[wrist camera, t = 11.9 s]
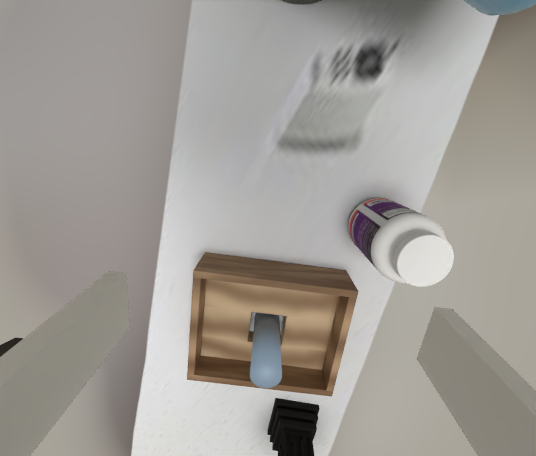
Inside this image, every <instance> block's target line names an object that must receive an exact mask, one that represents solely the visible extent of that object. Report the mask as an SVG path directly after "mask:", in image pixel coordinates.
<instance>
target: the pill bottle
mask: <svg viewBox="0 0 536 456" xmlns="http://www.w3.org/2000/svg"><path fill="white" fill-rule="evenodd" d="M348 230H349V235H350V237H351V239H352V241H353V242H354V244H355V245H356V246H357V247H358V248H359V249H360V250H361V252H362V253H363V254H364V255H365V256H366V257H367V258H368V260H369V261H370V262H371V263H372V264H373V265H374V266H375V268H376V269H377V270H378V271H379V272H380V273H381V274H382V275H383V276H385V277H387V278H388V279H390V280H393V281H396V282H400V283H408V284H411V285H414V286H419V287H424V286H430V285H433V284H435V283H437V282H439V281H440V280H442V279H443V278H444V277H445V276H446V275H447V274H448V273H449V271H450V269H451V267H452V265H453V261H454V253H453V250H452V247H451V246H450V244H449V243H448V242H447V240H446V236H445V233H444V231H443V229H442V228H441V227H440V225H439V224H438V223H437V222H435V221H434V220H432V219H431V218H429V217H427V216H425V215H422V214H420V213H418V212H416V211H414V210H411V209H409V208H407V207H404V206H402V205H400V204H398V203H395V202H393V201H391V200H388V199H384V198H374V199H370V200H367V201H365V202H363V203H361V204H360V205H359V206H358V207H357V208H356V209H355V210H354V211H353V213H352V214H351V217H350V219H349V224H348Z"/></svg>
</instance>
